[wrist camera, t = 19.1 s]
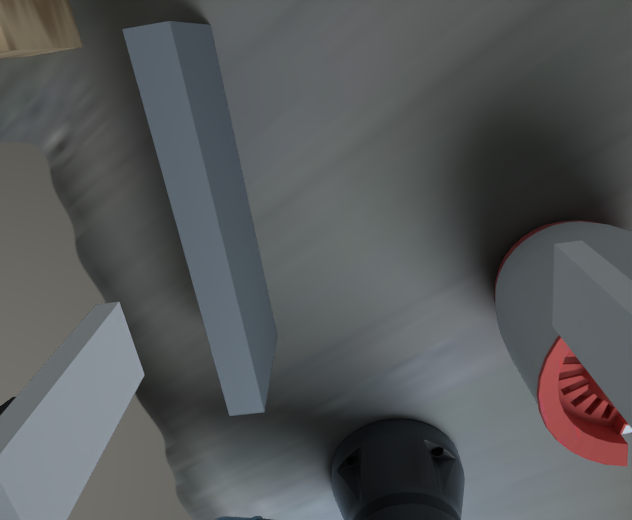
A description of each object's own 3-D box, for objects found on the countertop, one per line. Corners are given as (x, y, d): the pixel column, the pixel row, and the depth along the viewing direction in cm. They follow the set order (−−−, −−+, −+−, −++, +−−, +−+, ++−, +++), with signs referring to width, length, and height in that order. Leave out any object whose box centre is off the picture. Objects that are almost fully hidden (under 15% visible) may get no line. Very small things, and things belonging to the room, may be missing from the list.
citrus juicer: (499, 374, 56) (584, 541, 37) (455, 232, 49) (532, 349, 31) (650, 329, 53) (820, 485, 35) (624, 174, 47) (816, 263, 28)
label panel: (277, 335, 54) (264, 412, 43) (244, 339, 54) (223, 416, 43) (210, 24, 43) (169, 20, 32) (169, 32, 43) (114, 30, 32)
